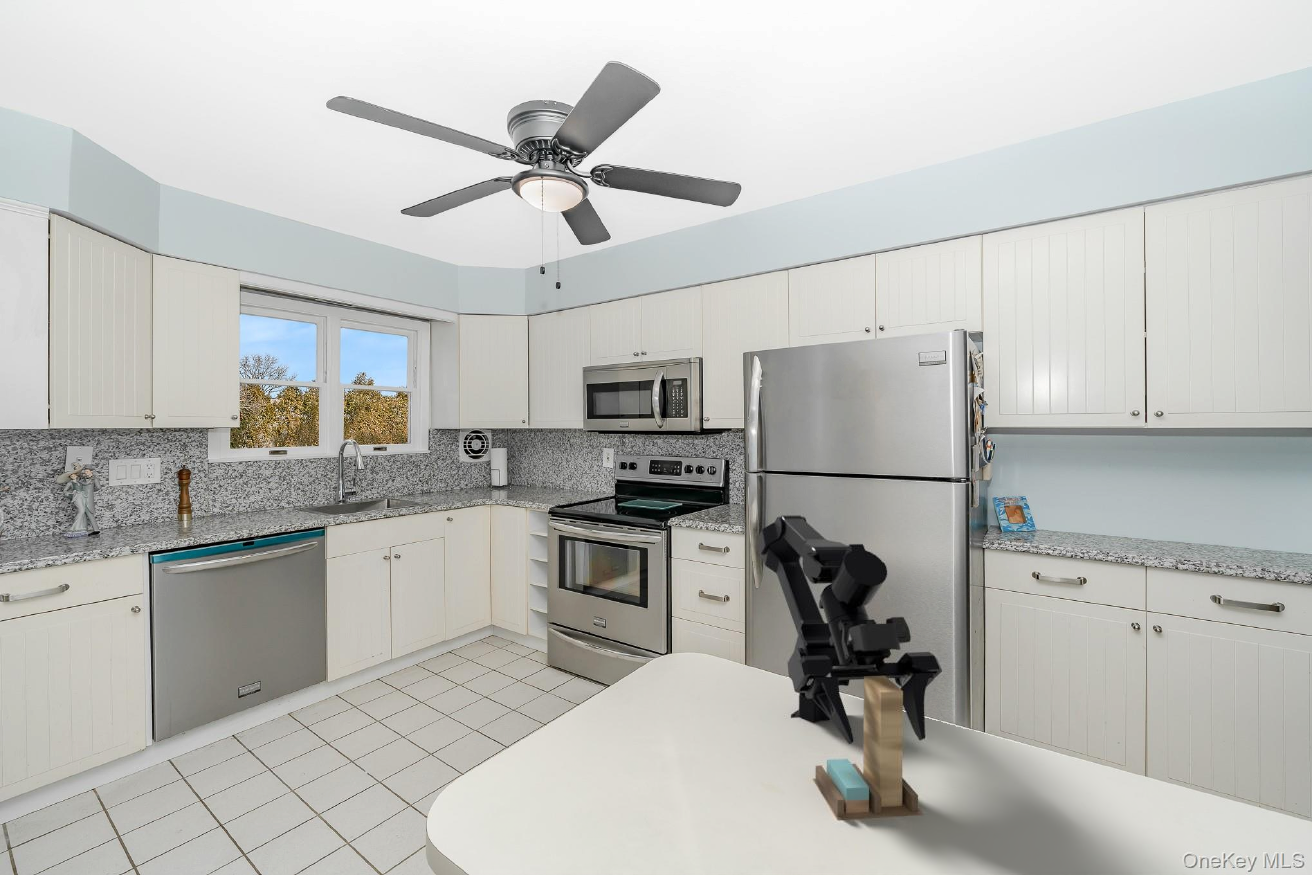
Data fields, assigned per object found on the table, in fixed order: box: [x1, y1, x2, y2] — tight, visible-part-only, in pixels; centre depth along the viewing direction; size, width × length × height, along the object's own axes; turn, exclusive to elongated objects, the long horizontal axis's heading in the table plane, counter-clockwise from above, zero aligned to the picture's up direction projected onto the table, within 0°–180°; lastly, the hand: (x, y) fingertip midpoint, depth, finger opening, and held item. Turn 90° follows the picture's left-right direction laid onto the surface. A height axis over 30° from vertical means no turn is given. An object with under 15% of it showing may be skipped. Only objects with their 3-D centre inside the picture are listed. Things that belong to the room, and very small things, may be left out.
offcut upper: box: [826, 758, 869, 801], centre depth 71 cm, size 6×3×2 cm, turn 5°
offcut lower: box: [826, 771, 869, 813], centre depth 71 cm, size 6×3×2 cm, turn 5°
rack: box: [812, 763, 924, 821], centre depth 71 cm, size 8×11×3 cm
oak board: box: [862, 676, 904, 807], centre depth 72 cm, size 4×3×14 cm, turn 5°
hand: (887, 741), depth 71 cm, fingers open, 9 cm apart
